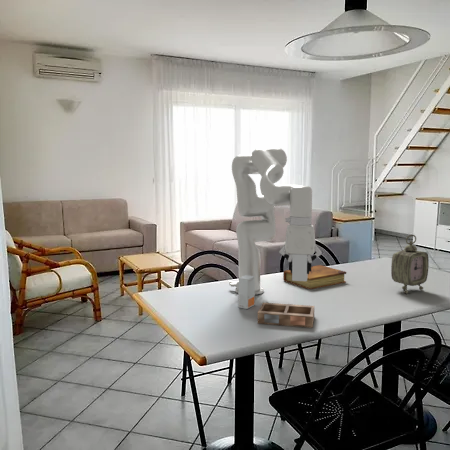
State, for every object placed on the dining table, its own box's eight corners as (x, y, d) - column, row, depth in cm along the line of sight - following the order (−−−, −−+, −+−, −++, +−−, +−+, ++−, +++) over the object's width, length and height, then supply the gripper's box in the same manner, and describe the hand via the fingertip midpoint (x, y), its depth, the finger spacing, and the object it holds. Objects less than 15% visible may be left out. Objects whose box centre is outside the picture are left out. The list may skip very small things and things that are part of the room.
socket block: (257, 323, 155) (257, 312, 154) (263, 312, 167) (263, 302, 166) (312, 328, 150) (312, 316, 150) (314, 316, 162) (314, 305, 162)
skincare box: (247, 309, 171) (247, 279, 169) (238, 307, 173) (238, 277, 172) (255, 305, 176) (255, 276, 174) (245, 303, 178) (245, 274, 177)
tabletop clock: (406, 295, 188) (409, 237, 184) (388, 290, 195) (391, 234, 192) (427, 290, 195) (430, 234, 192) (409, 285, 203) (411, 232, 200)
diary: (318, 275, 226) (318, 264, 225) (346, 283, 210) (346, 271, 209) (283, 281, 214) (283, 269, 213) (309, 290, 198) (309, 278, 197)
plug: (292, 280, 154) (292, 248, 152) (293, 277, 159) (293, 246, 157) (306, 281, 153) (307, 249, 151) (307, 277, 157) (308, 246, 156)
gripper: (274, 222, 152) (274, 274, 154) (325, 223, 147) (324, 276, 150) (277, 219, 159) (277, 269, 161) (326, 220, 155) (325, 271, 157)
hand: (300, 272), depth 155 cm, fingers closed on plug, 5 cm apart
